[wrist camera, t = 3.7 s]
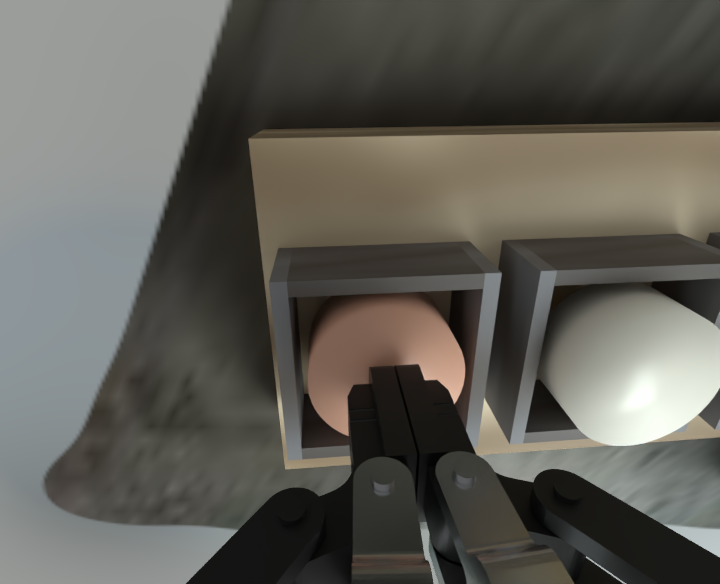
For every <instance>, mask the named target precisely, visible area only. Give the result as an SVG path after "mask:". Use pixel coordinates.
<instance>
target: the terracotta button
mask: <svg viewBox="0 0 720 584" xmlns="http://www.w3.org/2000/svg"><path fill="white" fill-rule="evenodd" d="M410 364H419V366H420V368H421V371H422V374H423V377H424V379H425V380H438V381H439V382H440V383H441V384H442V385H444V386H445V387H446V388H447V389H448V390H449V392H450V395H451V397H452V399H453V402H454V404H455V402H456V401H457V399H458V397H459V395H460V393H461V390H462V387H463V384H464V379H465V362H464V357H463V354H462V351H461V349H460V347H459V345H458V343H457V341H456V339H455V337H454V335H453V334H452V332H451V330H450V328H449V326H448V325H447V323H446V321H445V319H444V317H443V316H442V314H441V312H440V310H439V308H438V307H437V305H436V304H435V302H434V301H433V300H432V299H431V298H430V296H429V295H428V294H426V293H425V292H404V293H381V294H359V295H336V296H331V297H329V298H328V299H327V300H326V301H325V303H324V304H323V305H322V306H321V307H320V309H319V310H318V312H317V314H316V316H315V318H314V320H313V323H312V326H311V330H310V336H309V360H308V391H309V396H310V399H311V402H312V404H313V406H314V408H315V410H316V411H317V413H318V414H319V416H320V417H321V418H322V419H323V420H324V421H325V422H326V423H327V424H328V425H330V426H331V427H332V428H333V429H335V430H337V431H339V432H340V433H342V434H345V435H347V436H349V435H348V398H347V396H348V394H349V392H350V390H351V388H352V387H353V385H356V384H369V367H376V366H395V365H410Z"/></svg>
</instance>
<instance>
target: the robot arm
mask: <svg viewBox="0 0 720 584" xmlns="http://www.w3.org/2000/svg"><path fill="white" fill-rule="evenodd" d="M347 398H348V435H349V447H350V460H351V472H352V473H351V475H350V477H349V479H348V480H347V481H346V482H345V483H344V484H343V485H342V486H341V487H339V488H338V489H336V490H334V491H332V492H330V493H327V494H325V495H322V496H318V495H317V494H315V493H314V492H313V491H310V490H308V489H305V488H289V489H285V490H282V491H280V492H278V493H276V494H275V495H273V496H272V497H271V498H270V499H269V500H268V501H267V502H266V503H265V504H264V505H263V506H262V507H261V508H260V509H259V510H258V511H257V512H256V513H255V514H254V515H253V516H252V517H251V518H250V519H249V520H248V521H247V522H246V523H245V524H244V525H243V526H242V527H241V528H240V529H239V530H238V531H237V532H236V533H235V534H234V535H233V536H232V537H231V538H230V539H229V540H228V541H227V542H226V544H225V545H223V546H222V548H221V549H219V551H218V552H217V553H216V554H215V555H214V556H213V557H212V558H211V559H210V560H209V561H208V562H207V563H206V564H205V565H204V566H203V567H202V568H201V569H200V570H199V571H198V572H197V573H196V574H195V575H194V576H193V577H192V578H191V579H190V580H189V581H188V582H187V583H186V584H433V579H432V572H431V568H430V564H429V562H428V561H427V560H425V557H424V551H423V544H422V538H421V530H420V524H419V522H427V526H428V530H429V533H430V536H429V553H430V557H431V560H432V563H433V566H434V569H435V573H436V576H437V579H438V582H439V584H623V583H621V582H620V581H618V580H617V579H616V578H614V577H613V576H611V575H610V574H608V573H607V572H606V571H604V570H603V569H601V568H600V567H598V566H597V565H595V564H594V563H593V562H591V561H590V560H588V559H587V558H586V556H587V557H589V558H590V559H592V560H593V561H594V562H596V563H597V564H599V565H600V566H602V567H603V568H604V569H606V570H608V571H609V572H610V573H612V574H613V575H615V576H616V577H618V578H619V579H620V580H622V581H623V582H625V583H627V584H720V557H718V556H716V555H714V554H712V553H711V552H709V551H707V550H706V549H704V548H702V547H701V546H699V545H697V544H695V543H694V542H692V541H690V540H688V539H687V538H685V537H683V536H681V535H680V534H678V533H676V532H674V531H673V530H671V529H669V528H668V527H666V526H664V525H663V524H661V523H659V522H657V521H656V520H654V519H652V518H650V517H649V516H647V515H645V514H644V513H642V512H640V511H638V510H637V509H635V508H633V507H631V506H630V505H628V504H626V503H625V502H623V501H621V500H619V499H618V498H616V497H614V496H612V495H611V494H609V493H607V492H605V491H604V490H602V489H600V488H599V487H597V486H595V485H593V484H592V483H590V482H588V481H586V480H585V479H583V478H581V477H580V476H578V475H576V474H574V473H571V472H568V471H565V470H559V469H550V470H545V471H543V472H541V473H539V474H538V475H537V476H536V478H535V480H534V483H533V482H528V481H523V480H518V479H513V478H509V477H505V476H502V475H499V474H497V473H495V472H494V470H493V469H492V467H491V466H490V465H489V464H488V462H486V461H485V460H484V459H483V458H481V457H479V456H477V455H476V453H475V450H474V448H473V446H472V443H471V441H470V439H469V436H468V434H467V432H466V429H465V427H464V425H463V422H462V420H461V418H460V415H458V411H457V408H456V406H455V405H454V402H453V399H452V397H451V395H450V392H449V390H448V389H447V388H446V387H445V386H444V385H442V384H441V383H440V382H439V381H438V380H425V379H424V377H423V374H422V371H421V368H420V366H419V364H410V365H395V366H376V367H369V384H356V385H353V387H352V388H351V390H350V392H349V394H348V396H347Z"/></svg>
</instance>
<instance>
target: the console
mask: <svg viewBox="0 0 720 584" xmlns="http://www.w3.org/2000/svg"><path fill="white" fill-rule="evenodd" d="M248 140H249V149H250V158H251V167H252V176H253V185H254V194H255V203H256V212H257V221H258V229H259V238H260V247H261V256H262V265H263V274H264V283H265V292H266V301H267V310H268V319H269V328H270V337H271V346H272V354H273V363H274V372H275V381H276V390H277V399H278V408H279V417H280V426H281V435H282V444H283V453H284V462H285V469H296V468H310V467H324V466H337V465H351V460H350V447H349V436H347V435H345V434H342V433H340V432H339V431H337V430H335V429H333V428H332V427H331V426H330V425H328V424H327V423H326V422H325V421H324V420H323V419H322V418H321V417H320V416H319V414H318V413H317V411H316V410H315V408H314V406H313V404H312V402H311V399H310V396H309V391H308V360H309V336H310V330H311V326H312V323H313V320H314V318H315V316H316V314H317V312H318V310H319V309H320V307H321V306H322V305H323V304H324V303H325V301H326V300H327V299H328V298H329V297H331V296H336V295H359V294H381V293H404V292H425V293H426V294H428V295H429V296H430V298H431V299H432V300H433V301H434V302H435V304H436V305H437V307H438V308H439V310H440V312H441V314H442V316H443V317H444V319H445V321H446V323H447V325H448V326H449V328H450V330H451V332H452V334H453V335H454V337H455V339H456V341H457V343H458V345H459V347H460V349H461V351H462V354H463V357H464V362H465V379H464V384H463V387H462V390H461V393H460V395H459V397H458V399H457V401H456V402H455V404H454V405H455V406H456V408H457V411H458V415H460V418H461V420H462V422H463V425H464V427H465V429H466V432H467V434H468V436H469V439H470V441H471V443H472V446H473V448H474V450H475V453H476V455H486V454H500V453H513V452H527V451H541V450H554V449H568V448H581V447H595V446H608V445H607V444H602V443H599V442H597V441H594V440H592V439H590V438H588V437H587V436H586V435H584V434H583V433H582V432H581V431H580V430H579V429H578V428H577V427H576V425H575V424H574V423H573V421H572V420H571V419H570V417H569V416H568V415H567V414H566V412H565V411H564V410H563V408H562V407H561V406H560V405H559V403H558V402H557V401H556V399H555V398H554V397H553V396H552V394H551V393H550V392H549V390H548V389H547V388H546V386H545V385H544V384H543V383H542V381H541V380H540V378H539V377H538V375H537V370H538V365H539V360H540V355H541V350H542V345H543V340H544V335H545V330H546V325H547V320H548V315H549V314H550V313H551V311H552V310H553V309H554V308H555V307H556V306H557V305H558V304H559V303H560V302H562V301H563V300H564V299H565V298H567V297H568V296H569V295H571V294H572V293H574V292H576V291H577V290H579V289H581V288H583V287H585V286H588V285H590V284H606V283H628V282H642V283H644V284H646V285H648V286H650V287H652V288H654V289H655V290H657V291H659V292H661V293H662V294H664V295H666V296H668V297H669V298H671V299H673V300H674V301H676V302H678V303H680V304H681V305H683V306H685V307H686V308H688V309H690V310H692V311H693V312H695V313H697V314H698V315H700V316H702V317H704V318H705V319H707V320H709V321H710V322H712V323H713V324H714V325H716V326H717V327H718V329H719V330H720V122H692V123H629V124H566V125H502V126H439V127H376V128H313V129H263V130H262V131H260V132H258V133H257V134H255V135H254V136H252V137H250V138H249V139H248ZM717 437H720V388H719V390H718V392H717V393H716V395H715V396H714V398H713V399H712V400H711V401H710V403H709V404H708V405H707V406H706V407H705V408H704V409H703V410H702V411H701V412H700V413H699V414H698V415H697V416H696V417H694V418H693V419H692V420H691V421H689V422H688V423H687V424H685V425H684V426H682V427H681V428H679V429H677V430H676V431H674V432H672V433H670V434H668V435H666V436H663V437H661V438H659V439H656V440H653V441H650V442H663V441H676V440H690V439H703V438H717ZM646 443H649V442H646Z"/></svg>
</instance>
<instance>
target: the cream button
mask: <svg viewBox="0 0 720 584" xmlns="http://www.w3.org/2000/svg"><path fill="white" fill-rule="evenodd" d="M537 375H538V377H539V378H540V380H541V381H542V383H543V384H544V385H545V386H546V388H547V389H548V390H549V392H550V393H551V394H552V396H553V397H554V398H555V399H556V401H557V402H558V403H559V405H560V406H561V407H562V408H563V410H564V411H565V412H566V414H567V415H568V416H569V417H570V419H571V420H572V421H573V423H574V424H575V425H576V427H577V428H578V429H579V430H580V431H581V432H582V433H583V434H584V435H586V436H587V437H588V438H590V439H592V440H594V441H597V442H599V443H602V444H607V445H614V446H629V445H637V444H642V443H646V442H650V441H653V440H656V439H659V438H661V437H663V436H666V435H668V434H670V433H672V432H674V431H676V430H677V429H679V428H681V427H682V426H684V425H685V424H687V423H688V422H689V421H691V420H692V419H693V418H694V417H696V416H697V415H698V414H699V413H700V412H701V411H702V410H703V409H704V408H705V407H706V406H707V405H708V404H709V403H710V401H711V400H712V399H713V398H714V396H715V395H716V393H717V392H718V390H719V388H720V330H719V329H718V327H717V326H716V325H714V324H713V323H712V322H710V321H709V320H707V319H705V318H704V317H702V316H700V315H698V314H697V313H695V312H693V311H692V310H690V309H688V308H686V307H685V306H683V305H681V304H680V303H678V302H676V301H674V300H673V299H671V298H669V297H668V296H666V295H664V294H662V293H661V292H659V291H657V290H655V289H654V288H652V287H650V286H648V285H646V284H644V283H642V282H628V283H606V284H590V285H588V286H585V287H583V288H581V289H579V290H577V291H576V292H574V293H572V294H571V295H569V296H568V297H567V298H565V299H564V300H563V301H562V302H560V303H559V304H558V305H557V306H556V307H555V308H554V309H553V310H552V311H551V313H550V314H549V315H548V320H547V325H546V330H545V335H544V340H543V345H542V350H541V355H540V360H539V365H538V370H537Z"/></svg>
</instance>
